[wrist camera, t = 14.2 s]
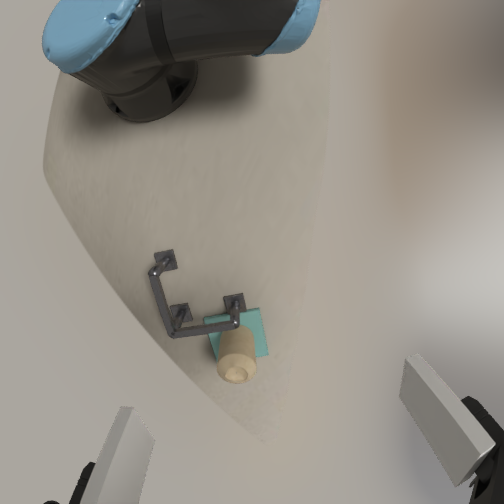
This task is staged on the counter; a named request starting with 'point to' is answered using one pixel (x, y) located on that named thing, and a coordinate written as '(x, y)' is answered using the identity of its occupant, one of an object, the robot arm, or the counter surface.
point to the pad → (247, 319)
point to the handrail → (182, 311)
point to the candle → (237, 355)
